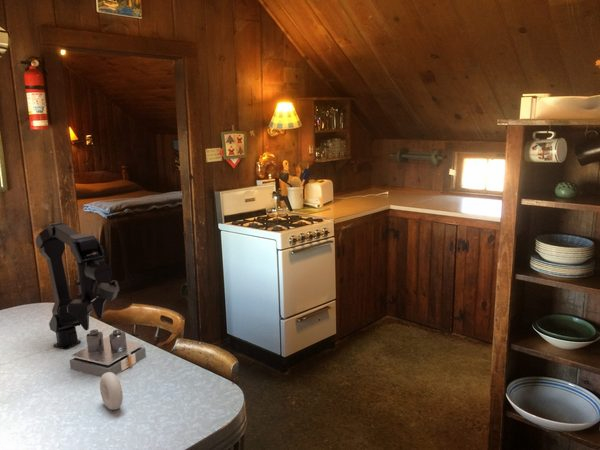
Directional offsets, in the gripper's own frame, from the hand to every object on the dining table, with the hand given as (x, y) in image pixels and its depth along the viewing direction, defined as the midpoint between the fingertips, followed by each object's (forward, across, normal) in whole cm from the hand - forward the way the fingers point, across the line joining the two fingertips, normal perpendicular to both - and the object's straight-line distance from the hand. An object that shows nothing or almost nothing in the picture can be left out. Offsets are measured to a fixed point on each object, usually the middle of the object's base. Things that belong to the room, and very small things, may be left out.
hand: (93, 324), depth 164 cm
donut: (+13, -26, -16) cm, 33 cm away
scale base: (+13, 0, -4) cm, 14 cm away
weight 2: (+8, 0, -7) cm, 11 cm away
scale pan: (+12, 0, -4) cm, 13 cm away
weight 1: (+8, 0, 0) cm, 9 cm away
